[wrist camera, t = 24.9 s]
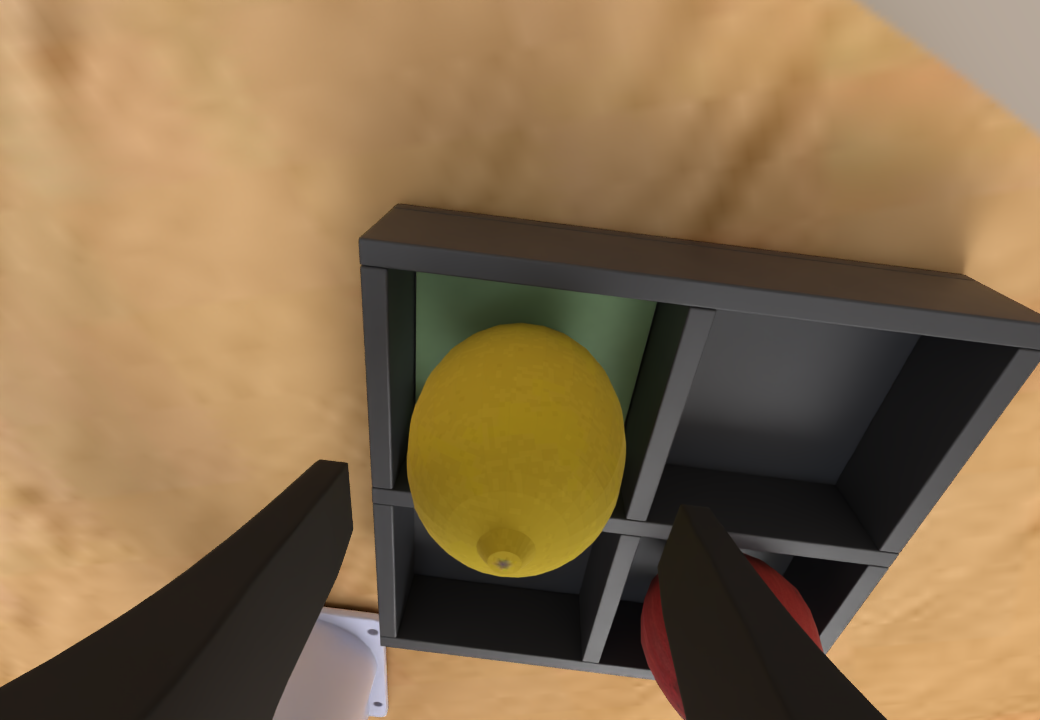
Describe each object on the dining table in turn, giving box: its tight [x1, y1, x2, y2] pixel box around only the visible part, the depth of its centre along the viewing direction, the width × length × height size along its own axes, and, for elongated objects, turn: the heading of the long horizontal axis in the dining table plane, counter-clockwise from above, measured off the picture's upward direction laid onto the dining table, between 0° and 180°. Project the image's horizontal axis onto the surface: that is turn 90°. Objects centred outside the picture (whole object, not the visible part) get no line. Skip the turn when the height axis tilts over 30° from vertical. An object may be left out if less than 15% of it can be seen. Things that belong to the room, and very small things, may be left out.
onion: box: [641, 553, 824, 720], centre depth 18 cm, size 6×6×8 cm
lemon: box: [407, 323, 626, 578], centre depth 13 cm, size 6×6×8 cm
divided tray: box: [359, 204, 1040, 680], centre depth 18 cm, size 17×17×4 cm
